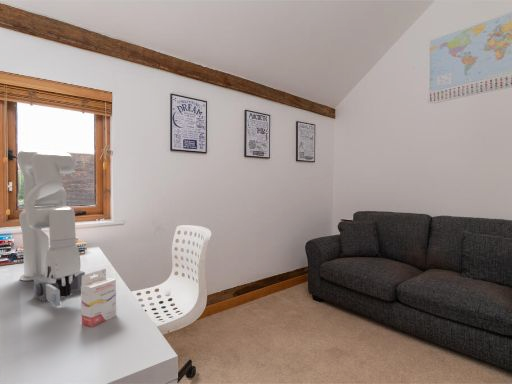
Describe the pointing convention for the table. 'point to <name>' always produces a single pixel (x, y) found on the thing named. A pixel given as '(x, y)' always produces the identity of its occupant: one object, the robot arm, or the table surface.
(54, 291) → the side door
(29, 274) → the robot arm
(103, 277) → the ink cartridge box
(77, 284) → the grey knobbed panel
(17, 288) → the table surface
